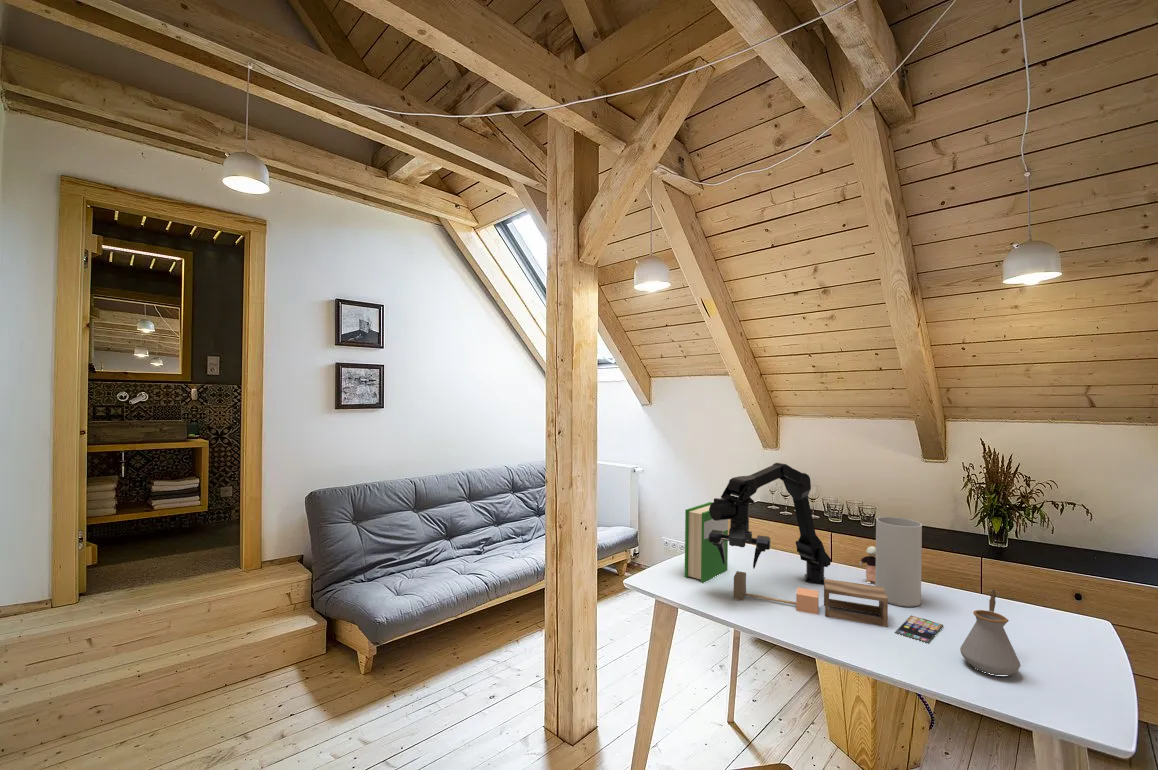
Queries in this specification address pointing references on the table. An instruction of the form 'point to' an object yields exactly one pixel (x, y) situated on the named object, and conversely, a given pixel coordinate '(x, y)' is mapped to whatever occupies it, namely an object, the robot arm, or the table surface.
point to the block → (804, 599)
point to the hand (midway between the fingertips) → (738, 566)
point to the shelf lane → (858, 592)
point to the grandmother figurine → (870, 564)
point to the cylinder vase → (899, 560)
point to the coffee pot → (990, 643)
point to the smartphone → (919, 629)
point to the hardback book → (703, 544)
